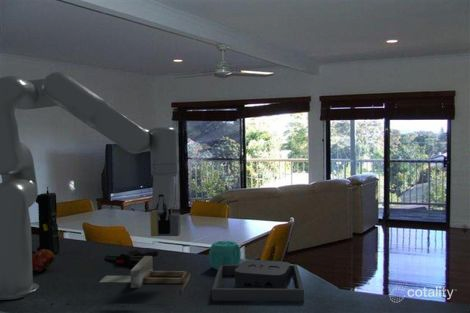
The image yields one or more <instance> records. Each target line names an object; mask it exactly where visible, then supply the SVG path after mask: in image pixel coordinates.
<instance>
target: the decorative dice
mask: <svg viewBox="0 0 470 313" xmlns="http://www.w3.org/2000/svg"><path fill="white" fill-rule="evenodd" d="M241 252H242V251H241V248H240V246H239V244H238V243H237V242H236V241H233V240H219V241H215V242H213V243H212V244H211V246H210V248H209V251H208V262H209V264H210V266H211V267H212V268H213V269H214V270H216V271H218V269H219V266H220V265H240V263H241V262H240V261H241Z"/></svg>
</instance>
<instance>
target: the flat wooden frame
mask: <svg viewBox="0 0 470 313" xmlns="http://www.w3.org/2000/svg"><path fill="white" fill-rule="evenodd" d="M153 261H154V260H153V257H152V256H144V257H143V258H142V259H141V260H140V261H139V262H138V264H137V265H136V266H133V268H132V269H130V275H105V276H104V277H103V278H101V279H100V281H98V283H130V288H131V289H140V288H141V287H142V286H143V284H183V285H182V287H181V288H180V291H179V294H182V293H183V292H184V290H185V288H186V285H187V283H188V281H189V280H190V277H191V272H188V270H178V271H177V270H154V268H153V267H154V266H153Z"/></svg>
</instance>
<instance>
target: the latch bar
mask: <svg viewBox="0 0 470 313" xmlns="http://www.w3.org/2000/svg"><path fill="white" fill-rule="evenodd" d="M149 214H150V215H149V216H150V236H151V237H178V236H180V235H181V213H180V212H179V213H173V212H172V213H168V220H169V221H170V233H169V234H159V233H158V209H156V210H154V209H152V210H151V211H150V213H149Z"/></svg>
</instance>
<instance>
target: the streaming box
mask: <svg viewBox="0 0 470 313" xmlns="http://www.w3.org/2000/svg"><path fill="white" fill-rule="evenodd" d="M291 265H292V264H291V263H290V262H287V261H278V260H277V261H276V260H262V259H246V260H243V261H242V262H240V263H239V266H238V267H237V268H236V269H235V275H234V288H263V289H287V287H288V286H289V284H290V282H291V280H292V278H291V276H292V275H291Z"/></svg>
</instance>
